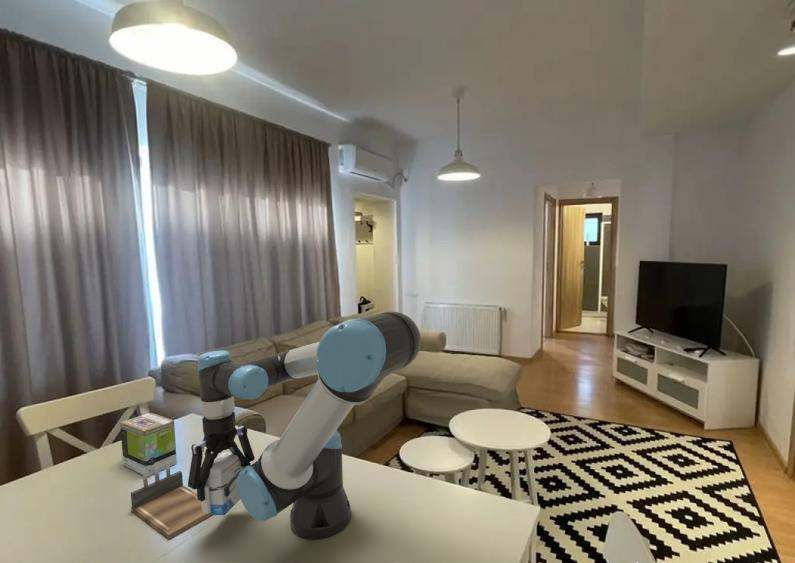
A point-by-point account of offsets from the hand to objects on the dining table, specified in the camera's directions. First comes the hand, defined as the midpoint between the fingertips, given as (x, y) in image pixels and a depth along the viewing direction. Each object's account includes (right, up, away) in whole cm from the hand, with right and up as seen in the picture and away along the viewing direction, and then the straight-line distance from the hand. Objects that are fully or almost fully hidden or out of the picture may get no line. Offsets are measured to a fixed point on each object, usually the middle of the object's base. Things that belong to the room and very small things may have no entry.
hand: (225, 500), depth 105 cm
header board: (-16, -6, +5) cm, 17 cm away
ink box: (0, -1, 0) cm, 1 cm away
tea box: (-37, -4, +30) cm, 48 cm away
